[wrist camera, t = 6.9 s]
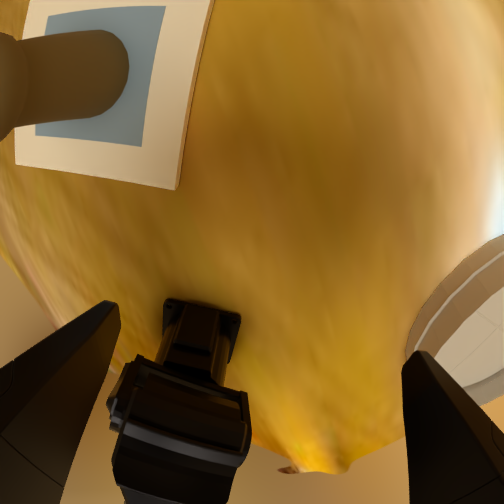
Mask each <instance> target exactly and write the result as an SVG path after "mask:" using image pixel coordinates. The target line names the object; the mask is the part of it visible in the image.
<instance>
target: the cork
mask: <svg viewBox="0 0 504 504" xmlns="http://www.w3.org/2000/svg"><path fill="white" fill-rule="evenodd" d="M128 73H129V59H128V52H127V50H126V49H125V47H124V45H123V43H122V41H121V40H120V39H119V38H118V37H117V36H115V35H114V34H113V33H111V32H108V31H105V30H87V31H76V32H67V33H59V34H52V35H45V36H39V37H34V38H28V39H23V40H18V41H16V40H15V39H14V37H13V36H10V35H8V34H5V33H1V32H0V141H2V140H3V139H4V138H5V137H6V136H7V135H8V134H9V132H10V131H11V130H12V129H13V128H16V127H22V126H28V125H34V124H41V123H48V122H56V121H65V120H74V119H85V118H92V117H95V116H98V115H101V114H103V113H104V112H105V111H107V110H108V109H110V108H111V107H112V106H113V105H114V104H115V102H116V101H117V100H118V99H119V97H120V96H121V95H122V92H123V90H124V88H125V85H126V83H127V80H128Z"/></svg>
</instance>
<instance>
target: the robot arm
mask: <svg viewBox="0 0 504 504" xmlns="http://www.w3.org/2000/svg"><path fill="white" fill-rule="evenodd" d="M168 304H170V305H171V306H170V305H168ZM233 319H236V320H233ZM240 324H241V317H240V315H238V314H234V313H229V312H225V311H220V310H216V309H211V308H207V307H202V306H198V305H194V304H189V303H185V302H181V301H177V300H173V299H166V300H165V302H164V305H163V338H162V342H161V344H160V347H159V350H158V353H157V355H156V358H155V361H154V362H153V361H151V360H148V359H146V358H144V356H142V355H139V354H137V356H136V358H135V360H134V361H131V363H125V366H124V368H123V370H122V373H121V375H120V377H119V380H118V381H117V383H116V385H115V387H114V388H113V390H112V392H111V393H110V395H109V397H108V399H107V402H106V406H107V408H108V410H109V412H110V420H111V423H110V427H109V429H110V430H112V431H115V432H118V433H119V435H118V439H117V442H116V445H115V449H114V452H113V455H112V461H111V462H112V466H113V474H114V478H115V481H116V484H117V486H120V489H121V491H122V494H123V496H124V499H125V501H124V504H226V503H227V502H228V499H229V495H230V491H231V486H232V482H233V479H234V476H235V473H236V470H237V468H238V467H240V466H241V465H242V463H243V462H244V460H245V458H246V456H247V454H248V451H249V448H250V444H251V438H252V428H251V420H250V411H249V403H248V394H247V392H244V391H236V390H233V389H230V388H227V387H224V380H225V374H226V367H227V364H228V363H229V362H230V359H231V356H232V352H233V349H234V345H235V342H236V338H237V334H238V331H239V327H240ZM120 329H121V320H120V313H119V307H118V304H117V303H115V302H111V301H107V300H104V301H102V302H100V303H99V304H97V305H95V306H94V307H92V308H91V309H89V310H88V311H86V312H84V313H83V314H81V315H80V316H78V317H77V318H75V319H74V320H72V321H70V322H69V323H67V324H66V325H64V326H63V327H61V328H60V329H58V330H57V331H55V332H54V333H52V334H51V335H49V336H48V337H46V338H45V339H43V340H42V341H40V342H39V343H37V344H36V345H34V346H33V347H31V348H30V349H28V350H27V351H26V352H24V353H22V354H21V355H19V356H18V357H16V358H15V359H14V361H13V360H12V361H10V362H9V363H7V364H6V365H5V366H3V367H2V368H0V504H60V500H61V497H62V493H63V490H64V486H65V483H66V480H67V477H68V474H69V471H70V468H71V465H72V462H73V459H74V457H75V454H76V451H77V448H78V445H79V443H80V440H81V437H82V434H83V432H84V429H85V427H86V424H87V421H88V419H89V416H90V414H91V411H92V409H93V406H94V403H95V401H96V399H97V396H98V393H99V391H100V389H101V386H102V384H103V382H104V379H105V377H106V374H107V371H108V368H109V365H110V361H111V358H112V355H113V352H114V348H115V345H116V342H117V339H118V336H119V333H120ZM401 376H402V398H403V418H404V427H405V436H406V447H407V458H408V473H409V498H410V499H409V500H410V504H504V433H503V432H502V431H501V430H500V429H499V428H498V427H497V426H496V425H495V423H494V422H493V421H491V419H490V418H489V417H488V416H487V415H486V414H485V412H484V411H483V410H482V409H481V408H480V407H479V406H478V404H477V403H476V402H475V401H474V400H473V399H472V398H471V397H470V396H469V395H468V394H467V393H466V391H465V390H464V389H463V388H462V387H461V386H460V385H459V384H458V383H457V382H456V381H455V380H454V379H453V378H452V377H451V376H450V374H449V373H448V372H447V371H446V370H445V369H444V368H443V367H442V366H441V365H440V364H439V363H438V362H437V361H436V360H435V359H434V358H433V357H432V356H431V355H430V354H429V353H428V352H427V351H424V350H416V351H414V352H413V353H412V355H411V356H410V357H409V359H408V360H407V361H406V363H405V364H404V365H403V367H402V372H401Z"/></svg>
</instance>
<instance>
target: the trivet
mask: <svg viewBox="0 0 504 504" xmlns="http://www.w3.org/2000/svg"><path fill="white" fill-rule="evenodd" d="M213 4H214V0H30V4H29V8H28V12H27V17H26V22H25V26H24V32H23V37H22V40H23V39H28V38H34V37H39V36H45V35H52V34H59V33H67V32H76V31H87V30H105V31H108V32H111V33H113V34H114V35H115V36H117V37H118V38H119V39H120V40H121V41H122V43H123V45H124V47H125V49H126V50H127V52H128V59H129V73H128V80H127V83H126V85H125V88H124V90H123V92H122V95H121V96H120V97H119V99H118V100H117V101H116V102H115V104H114V105H113V106H112V107H111V108H110V109H108V110H107V111H105V112H104V113H103V114H101V115H98V116H95V117H92V118H85V119H74V120H65V121H56V122H48V123H41V124H34V125H28V126H22V127H16V128H15V160H16V165H24V166H31V167H38V168H45V169H52V170H59V171H66V172H72V173H79V174H85V175H91V176H97V177H103V178H109V179H115V180H120V181H126V182H132V183H137V184H143V185H148V186H153V187H158V188H164V189H169V190H174V191H175V189H176V188H177V187H178V186H179V180H180V173H181V165H182V158H183V151H184V145H185V138H186V132H187V126H188V120H189V114H190V109H191V103H192V98H193V93H194V87H195V82H196V77H197V72H198V68H199V63H200V58H201V54H202V49H203V45H204V40H205V36H206V32H207V28H208V24H209V20H210V16H211V12H212V8H213Z"/></svg>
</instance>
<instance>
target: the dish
mask: <svg viewBox="0 0 504 504" xmlns="http://www.w3.org/2000/svg"><path fill="white" fill-rule="evenodd" d="M416 350H424V351H427V352H428V353H429V354H430V355H431V356H432V357H433V358H434V359H435V360H436V361H437V362H438V363H439V364H440V365H441V366H442V367H443V368H444V369H445V370H446V371H447V372H448V373H449V374H450V376H451V377H452V378H453V379H454V380H455V381H456V382H457V383H458V384H459V385H460V386H461V387H462V388H463V389H464V390H465V391H466V393H467V394H468V395H469V396H470V397H471V398H472V399H473V400H474V401H475V402H476V403H477V404H478V406H481V405H484V404H486V403H488V402H490V401H492V400H494V399H496V398H497V397H500V396H502V395H503V394H504V234H503V235H501V236H499V237H497V238H495V239H493V240H491V241H489V242H487V243H486V244H485V245H483V246H482V247H481V248H479V249H478V250H477V251H475V252H474V253H473V254H471V255H470V256H469V257H467V258H466V259H464V260H463V261H462V262H461V263H460V264H459V265H458V266H457V267H456V268H455V269H454V270H453V271H452V272H451V273H450V274H449V275H448V276H447V277H446V278H445V279H444V280H443V281H442V282H441V283H440V285H439V286H438V287H437V289H436V290H435V291H434V293H433V294H432V295H431V297H430V298H429V299H428V301H427V302H426V303H425V305H424V306H423V307H422V309H421V311H420V313H419V315H418V317H417V319H416V321H415V323H414V325H413V326H412V328H411V330H410V333H409V338H408V342H407V346H406V350H405V352H406V359H407V360H408V359H409V357H410V356H411V355H412V353H413V352H414V351H416ZM502 374H503V375H502ZM499 376H500V377H499Z"/></svg>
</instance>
